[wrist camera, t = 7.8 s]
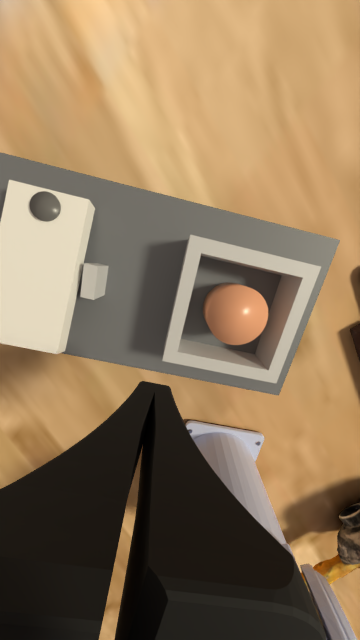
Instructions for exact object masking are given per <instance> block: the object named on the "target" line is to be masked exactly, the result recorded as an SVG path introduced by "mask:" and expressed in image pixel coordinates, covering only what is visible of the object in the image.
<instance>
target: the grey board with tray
mask: <svg viewBox="0 0 360 640" xmlns="http://www.w3.org/2000/svg"><path fill="white" fill-rule="evenodd" d="M9 180H13V181H17V182H21V183H25V184H29V185H33V186H37V187H41V188H45V189H49V190H53V191H57V192H61V193H65V194H69V195H73V196H77V197H81V198H85V199H89V200H90V201H91V203H92V204H93V206H94V207H95V211H94V216H93V221H92V226H91V230H90V235H89V240H88V245H87V249H86V254H85V259H84V264H83V268H82V273H81V278H80V283H79V287H78V292H77V297H76V302H75V306H74V311H73V316H72V321H71V326H70V330H69V335H68V340H67V345H66V349H65V351H64V352H62V353H64V354H69V355H74V356H79V357H84V358H89V359H94V360H100V361H105V362H110V363H115V364H120V365H125V366H130V367H135V368H141V369H146V370H151V371H156V372H161V373H166V374H171V375H176V376H182V377H187V378H192V379H197V380H202V381H207V382H212V383H218V384H223V385H228V386H233V387H238V388H243V389H248V390H253V391H259V392H264V393H269V394H274V395H279V393H280V391H281V388H282V386H283V383H284V381H285V378H286V376H287V373H288V371H289V368H290V366H291V363H292V360H293V358H294V355H295V353H296V350H297V348H298V345H299V343H300V340H301V338H302V335H303V333H304V330H305V328H306V325H307V323H308V320H309V318H310V315H311V312H312V310H313V307H314V305H315V302H316V300H317V297H318V295H319V292H320V290H321V287H322V285H323V282H324V280H325V277H326V275H327V272H328V270H329V267H330V264H331V262H332V259H333V257H334V254H335V252H336V249H337V247H338V244H339V242H340V240H337V239H333V238H330V237H326V236H322V235H318V234H314V233H310V232H306V231H302V230H299V229H295V228H291V227H287V226H283V225H279V224H275V223H271V222H268V221H264V220H260V219H256V218H252V217H248V216H244V215H240V214H237V213H233V212H229V211H225V210H221V209H217V208H213V207H210V206H206V205H202V204H198V203H194V202H190V201H186V200H182V199H179V198H175V197H171V196H167V195H163V194H159V193H155V192H151V191H148V190H144V189H140V188H136V187H132V186H128V185H124V184H120V183H117V182H113V181H109V180H105V179H101V178H97V177H93V176H90V175H86V174H82V173H78V172H74V171H70V170H66V169H62V168H59V167H55V166H51V165H47V164H43V163H39V162H35V161H31V160H28V159H24V158H20V157H16V156H12V155H8V154H4V153H0V222H1V217H2V212H3V207H4V202H5V197H6V192H7V187H8V183H9ZM228 282H233V283H237V284H240V285H243V286H246V287H249V288H252V289H254V290H256V291H257V292H259V293H260V294H261V295H262V297H263V298H264V299H265V301H266V304H267V307H268V320H267V324H266V326H265V328H264V330H263V331H262V332H261V334H260V335H259V336H258V337H256V338H255V339H254V340H252V341H250V342H248V343H246V344H242V345H230V344H226V343H224V342H222V341H220V340H218V339H217V338H216V337H215V336H214V335H213V333H212V332H211V330H210V328H209V326H208V324H207V322H206V320H205V318H204V315H203V303H204V300H205V298H206V296H207V294H208V293H209V292H210V291H211V290H212V289H213V288H214V287H216V286H218V285H220V284H222V283H228Z"/></svg>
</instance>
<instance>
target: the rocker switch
mask: <svg viewBox="0 0 360 640" xmlns="http://www.w3.org/2000/svg"><path fill="white" fill-rule="evenodd" d="M94 211H95V207H94V206H93V204H92V203H91V201H90V200H89V199H85V198H81V197H77V196H73V195H69V194H65V193H61V192H57V191H53V190H49V189H45V188H41V187H37V186H33V185H29V184H25V183H21V182H17V181H13V180H9V183H8V187H7V192H6V197H5V202H4V207H3V212H2V217H1V222H0V343H2V344H7V345H12V346H17V347H22V348H28V349H33V350H38V351H43V352H48V353H53V354H59V353H62V352H64V351H65V349H66V345H67V340H68V335H69V330H70V326H71V321H72V316H73V311H74V306H75V302H76V297H77V292H78V287H79V283H80V278H81V273H82V268H83V264H84V259H85V254H86V249H87V245H88V240H89V235H90V230H91V226H92V221H93V216H94Z"/></svg>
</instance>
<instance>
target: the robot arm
mask: <svg viewBox="0 0 360 640" xmlns="http://www.w3.org/2000/svg"><path fill="white" fill-rule="evenodd" d="M189 429H191V430H190V431H189ZM257 441H258V442H257ZM263 441H264V436H263V434H262V433H259V432H253V431H248V430H242V429H237V428H231V427H225V426H220V425H214V424H209V423H203V422H198V421H192V420H190V421H188V422H187V423H186V425H185V424H184V422H183V419H182V417H181V415H180V413H179V411H178V408H177V406H176V403H175V401H174V398H173V395H172V392H171V389H170V387H169V386H166V385H161V384H155V383H150V382H145V381H142V382H140V383H139V384H138V386H137V388H136V389H135V390H134V392H133V393H132V394H131V395H130V396H129V398H128V399H127V400H126V401H125V402H124V403H123V404H122V405H121V406H120V407H119V408H118V409H117V410H116V411H115V412H114V413H113V414H112V415H111V416H110V417H109V418H108V419H107V420H106V421H104V422H103V423H102V424H101V425H100V426H99V427H97V428H96V429H95V430H94V431H92V432H91V433H90V434H89V435H87V436H86V437H85V438H83V439H82V440H81V441H79V442H78V443H76V444H75V445H74V446H72V447H71V448H69V449H68V450H66V451H65V452H63V453H62V454H60V455H59V456H57V457H56V458H54V459H53V460H51V461H49V462H48V463H46V464H44V465H43V466H41V467H39V468H38V469H36V470H34V471H33V472H31V473H29V474H28V475H26V476H24V477H22V478H21V479H19V480H17V481H15V482H13V483H12V484H10V485H8V486H6V487H4V488H2V489H0V640H98V639H99V635H100V630H101V625H102V621H103V616H104V611H105V606H106V601H107V596H108V592H109V587H110V582H111V577H112V572H113V567H114V562H115V557H116V552H117V547H118V542H119V537H120V533H121V528H122V523H123V518H124V513H125V508H126V503H127V498H128V494H129V491H130V487H131V484H132V480H133V477H134V473H135V470H136V466H137V463H138V459H139V456H140V452H141V449H142V445H143V449H142V459H141V470H140V480H139V491H138V502H137V510H136V517H135V523H134V529H133V535H132V541H131V547H130V553H129V559H128V565H127V570H126V576H125V582H124V588H123V594H122V600H121V605H120V611H119V617H118V623H117V628H116V634H115V640H357V638H356V636H355V634H354V632H353V630H352V628H351V626H350V624H349V622H348V620H347V618H346V615H345V613H344V611H343V609H342V607H341V605H340V604H339V602H338V600H337V598H336V596H335V594H334V592H333V590H332V588H331V587H330V585H329V583H328V581H327V580H326V578H325V577H324V576H322V575H321V574H320V573H319V572H317V571H316V570H314V569H313V567H312V566H311V565H310V564H304V565H300V566H301V570H302V573H303V575H304V578H305V581H306V584H307V586H308V588H307V586H306V584H305V581H304V579H303V577H302V575H301V573H300V571H299V568H298V566H297V563H296V561H295V558H294V556H293V553H292V551H291V548H290V546H289V544H287V543H286V541H285V538H284V536H283V533H282V531H281V528H280V525H279V523H278V520H277V518H276V515H275V513H274V510H273V508H272V505H271V503H270V500H269V498H268V495H267V492H266V490H265V487H264V485H263V482H262V480H261V477H260V475H259V472H258V470H257V467H256V464H255V461H256V459H257V456H258V454H259V451H260V449H261V446H262V444H263ZM308 589H309V591H308ZM309 592H310V593H309Z"/></svg>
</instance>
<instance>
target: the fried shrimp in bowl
mask: <svg viewBox="0 0 360 640" xmlns="http://www.w3.org/2000/svg"><path fill="white" fill-rule="evenodd" d="M339 518H340V520H341V521H342V522H343V523H344V524H343V525H342V526H341V527H340V530H339V532H338V535H337V539H338V541H337V542H338V548H337V551H338V555H337V556H336V557H334V558H332V559H330V560H325V561H323V562H320V563H318V564H316V565H315V566H314V567H313V569H314V570H316V571H317V572H319V573H320V574H321V575H322V576H324V577H325V578H326V580H327V581H328V583H329V585H330V584H331V583H332V582H334V581H335V580H337V579H338V578H342V577H344V576H345V575H347V574H348V573H350V572H352V571H353V570H355V569H356V568H360V503H357V504H354V505H351V506H349V507H347V508H345V509H344V510H343V511H342V512H341V513H340V515H339ZM301 575H302V577H303V579H304V581H305V578H304V575H303V573H301ZM305 584H306V581H305ZM306 586H307V584H306ZM307 588H308V586H307ZM308 591H309V589H308ZM309 593H310V592H309Z"/></svg>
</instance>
